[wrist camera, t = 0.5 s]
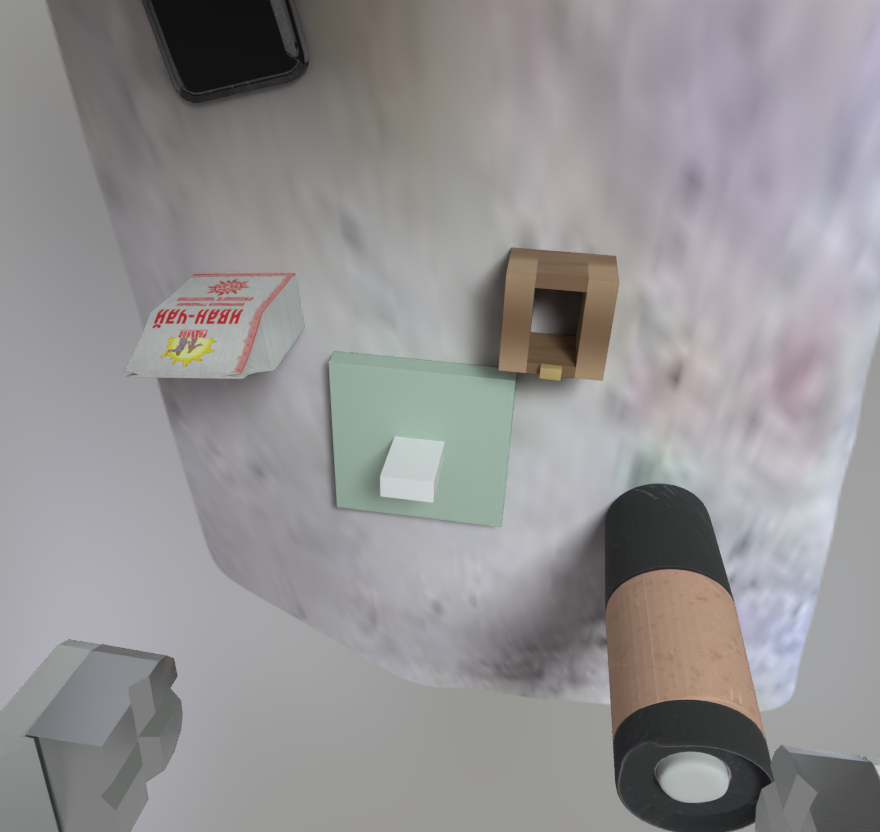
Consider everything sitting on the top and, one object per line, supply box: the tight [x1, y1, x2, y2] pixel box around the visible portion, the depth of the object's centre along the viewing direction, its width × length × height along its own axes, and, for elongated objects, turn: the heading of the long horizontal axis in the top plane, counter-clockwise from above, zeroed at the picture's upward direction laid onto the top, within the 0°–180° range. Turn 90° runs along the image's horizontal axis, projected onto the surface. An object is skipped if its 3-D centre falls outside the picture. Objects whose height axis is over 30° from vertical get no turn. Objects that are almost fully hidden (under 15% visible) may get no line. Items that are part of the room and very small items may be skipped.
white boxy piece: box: [123, 274, 305, 379], centre depth 44 cm, size 4×7×10 cm, turn 94°
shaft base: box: [329, 351, 517, 527], centre depth 49 cm, size 12×12×6 cm
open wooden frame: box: [498, 248, 619, 381], centre depth 43 cm, size 6×6×4 cm
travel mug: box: [605, 484, 774, 832], centre depth 44 cm, size 8×8×20 cm
